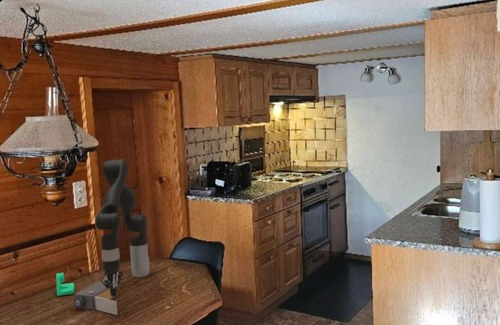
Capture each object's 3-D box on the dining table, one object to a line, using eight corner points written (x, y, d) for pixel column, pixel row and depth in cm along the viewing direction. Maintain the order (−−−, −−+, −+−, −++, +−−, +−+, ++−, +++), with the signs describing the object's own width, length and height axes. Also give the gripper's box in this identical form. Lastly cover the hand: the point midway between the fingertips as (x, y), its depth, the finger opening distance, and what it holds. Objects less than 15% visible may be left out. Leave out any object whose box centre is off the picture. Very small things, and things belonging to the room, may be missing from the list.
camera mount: (73, 295, 244) (72, 275, 243) (57, 297, 242) (55, 277, 241) (74, 287, 256) (72, 268, 254) (58, 289, 253) (57, 270, 252)
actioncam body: (100, 293, 244) (99, 279, 244) (118, 295, 241) (117, 281, 240) (71, 310, 225) (70, 294, 225) (90, 312, 222) (88, 296, 221)
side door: (117, 314, 218) (116, 301, 217) (113, 316, 216) (112, 302, 215) (96, 308, 226) (95, 295, 225) (92, 310, 224) (91, 297, 223)
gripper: (113, 252, 226) (115, 289, 228) (94, 261, 214) (97, 300, 216) (126, 254, 223) (129, 291, 225) (108, 263, 211) (111, 302, 213)
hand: (113, 295), depth 221 cm, fingers closed
